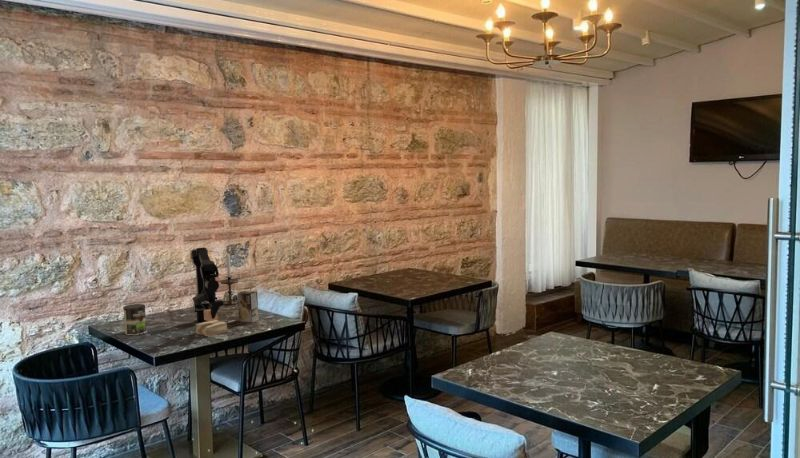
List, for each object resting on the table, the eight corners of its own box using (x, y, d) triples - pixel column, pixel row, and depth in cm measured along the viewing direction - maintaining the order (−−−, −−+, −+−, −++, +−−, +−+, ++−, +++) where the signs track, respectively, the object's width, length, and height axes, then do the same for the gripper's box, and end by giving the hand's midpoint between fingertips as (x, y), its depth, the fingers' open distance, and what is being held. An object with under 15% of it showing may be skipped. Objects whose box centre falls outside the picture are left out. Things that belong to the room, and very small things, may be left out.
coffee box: (259, 319, 320) (258, 291, 319) (252, 322, 314) (251, 293, 313) (245, 318, 324) (244, 290, 322) (238, 321, 318) (237, 292, 316)
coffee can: (151, 331, 300) (149, 305, 298) (132, 336, 291) (131, 309, 290) (139, 329, 305) (137, 302, 304) (120, 333, 296) (118, 307, 295)
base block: (196, 333, 296) (195, 324, 296) (214, 328, 305) (214, 319, 304) (208, 337, 289) (207, 327, 289) (227, 332, 298) (226, 322, 297)
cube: (204, 319, 296) (203, 310, 296) (213, 317, 300) (212, 308, 299) (208, 321, 293) (207, 311, 292) (217, 319, 296) (217, 310, 296)
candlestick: (234, 305, 354) (231, 249, 350) (218, 305, 356) (215, 249, 352) (242, 301, 365) (239, 247, 361) (226, 301, 367) (223, 246, 363)
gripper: (186, 287, 296) (187, 317, 297) (202, 293, 282) (203, 324, 284) (207, 284, 303) (208, 313, 305) (223, 289, 290) (225, 319, 291)
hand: (210, 317), depth 296 cm, fingers closed on cube, 5 cm apart
